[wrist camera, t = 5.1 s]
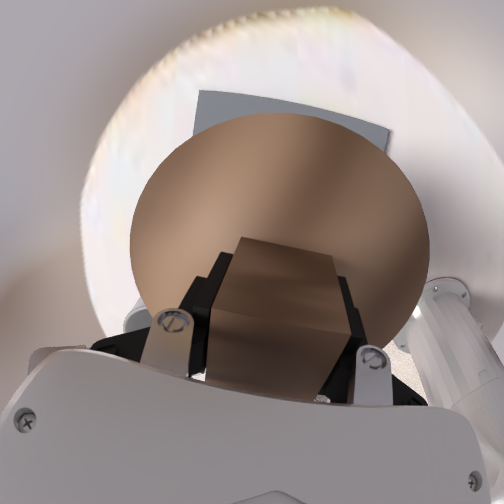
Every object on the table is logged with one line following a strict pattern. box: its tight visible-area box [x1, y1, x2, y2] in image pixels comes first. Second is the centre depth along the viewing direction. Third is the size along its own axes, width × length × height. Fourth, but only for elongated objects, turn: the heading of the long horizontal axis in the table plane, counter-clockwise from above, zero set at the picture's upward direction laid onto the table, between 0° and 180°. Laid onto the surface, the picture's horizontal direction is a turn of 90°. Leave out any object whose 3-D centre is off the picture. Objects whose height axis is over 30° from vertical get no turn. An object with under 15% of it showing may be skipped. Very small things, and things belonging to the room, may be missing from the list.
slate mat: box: [193, 90, 389, 152], centre depth 26 cm, size 18×18×1 cm
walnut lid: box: [130, 113, 430, 401], centre depth 11 cm, size 15×15×6 cm
